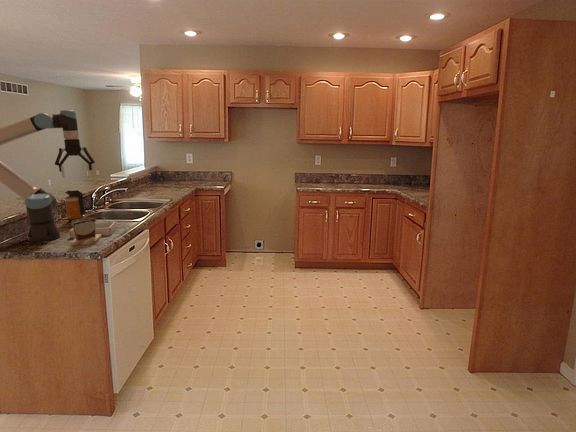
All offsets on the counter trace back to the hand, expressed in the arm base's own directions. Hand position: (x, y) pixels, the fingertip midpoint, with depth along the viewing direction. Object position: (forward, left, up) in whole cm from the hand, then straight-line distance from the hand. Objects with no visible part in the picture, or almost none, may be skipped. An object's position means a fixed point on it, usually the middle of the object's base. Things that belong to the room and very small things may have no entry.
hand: (76, 176), depth 229 cm
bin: (+8, -12, -31) cm, 34 cm away
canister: (-10, +26, -31) cm, 42 cm away
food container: (+7, -29, -29) cm, 42 cm away
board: (+8, -29, -31) cm, 43 cm away
